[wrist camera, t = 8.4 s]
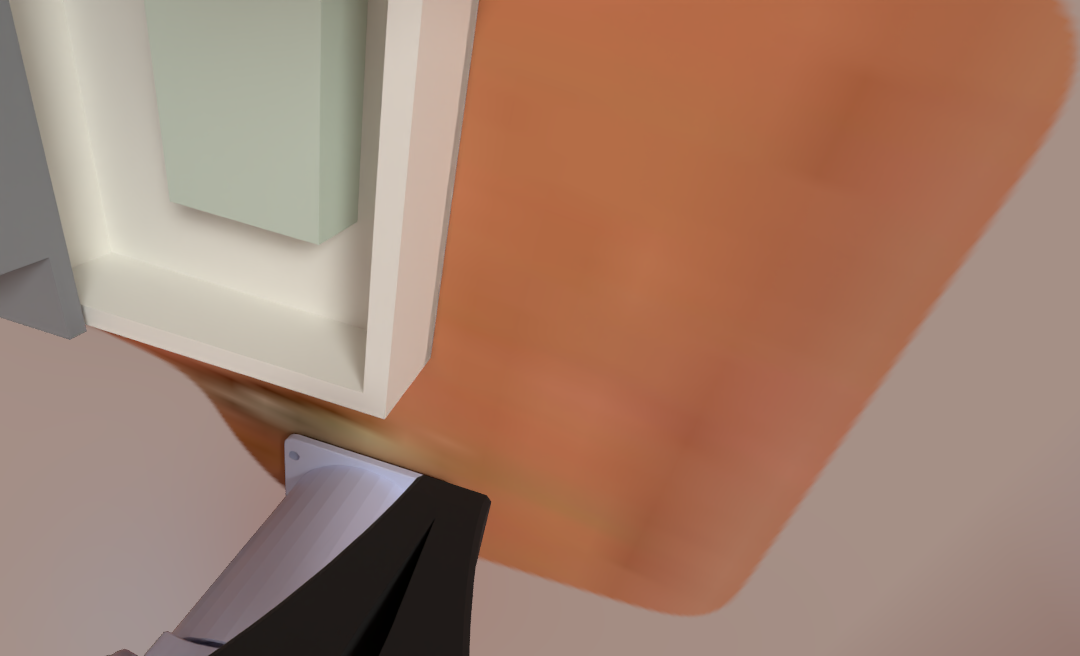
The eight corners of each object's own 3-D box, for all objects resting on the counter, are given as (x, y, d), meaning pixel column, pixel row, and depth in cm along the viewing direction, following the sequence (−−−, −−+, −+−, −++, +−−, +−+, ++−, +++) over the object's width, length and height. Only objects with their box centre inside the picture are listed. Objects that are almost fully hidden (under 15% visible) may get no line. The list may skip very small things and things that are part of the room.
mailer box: (430, 357, 22) (384, 419, 18) (110, 259, 23) (9, 300, 19) (516, -282, 13) (458, -398, 9) (-17, -392, 14) (-246, -532, 10)
